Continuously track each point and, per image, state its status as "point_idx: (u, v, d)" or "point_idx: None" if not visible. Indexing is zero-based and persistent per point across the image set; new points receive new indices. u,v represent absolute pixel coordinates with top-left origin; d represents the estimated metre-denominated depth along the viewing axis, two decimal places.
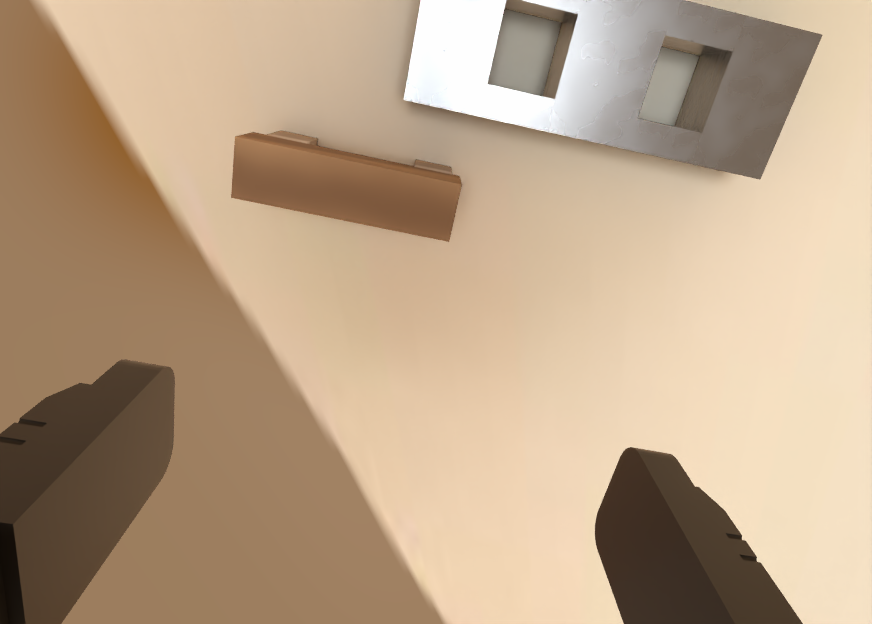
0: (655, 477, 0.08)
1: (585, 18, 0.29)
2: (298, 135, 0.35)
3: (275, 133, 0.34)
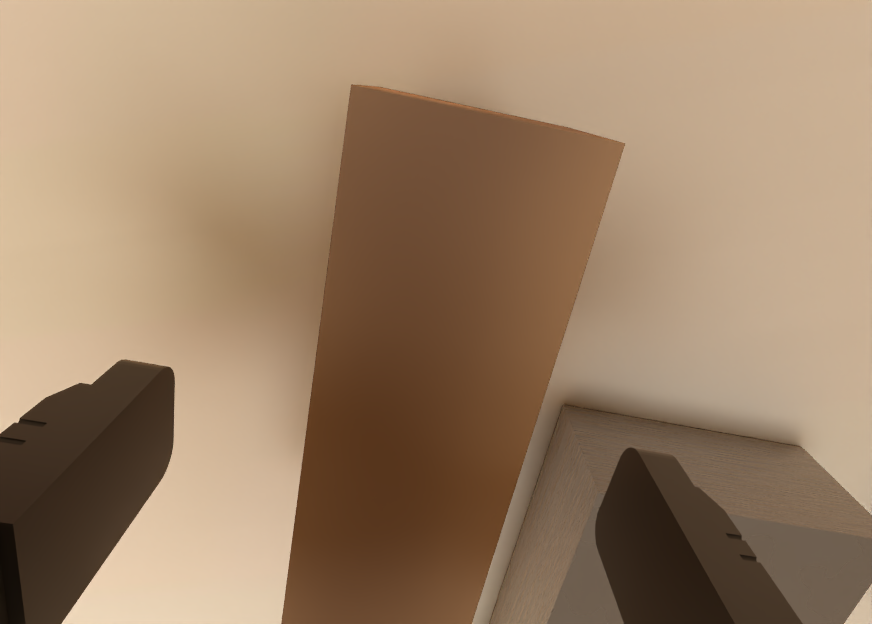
0: (655, 477, 0.08)
1: None
2: None
3: None
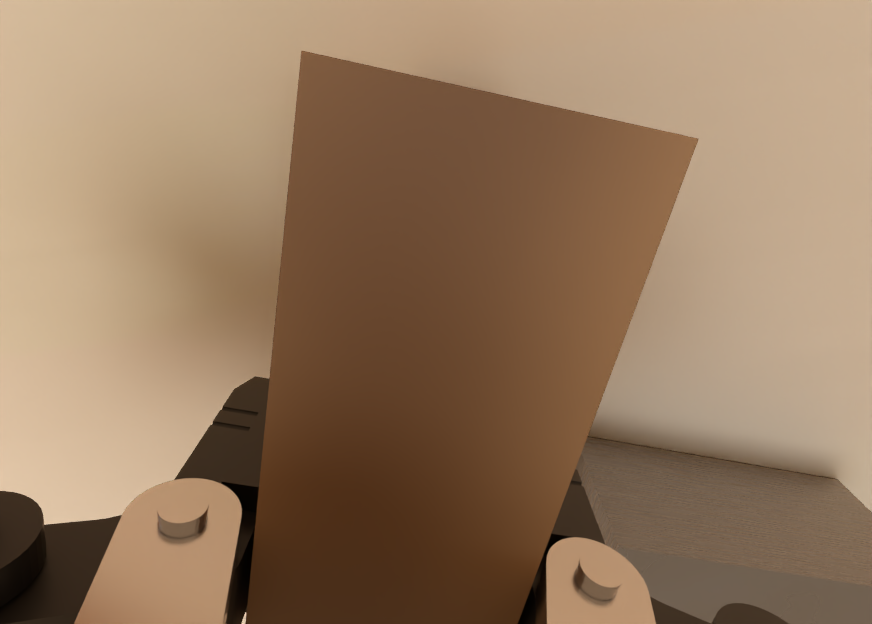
0: None
1: None
2: None
3: None
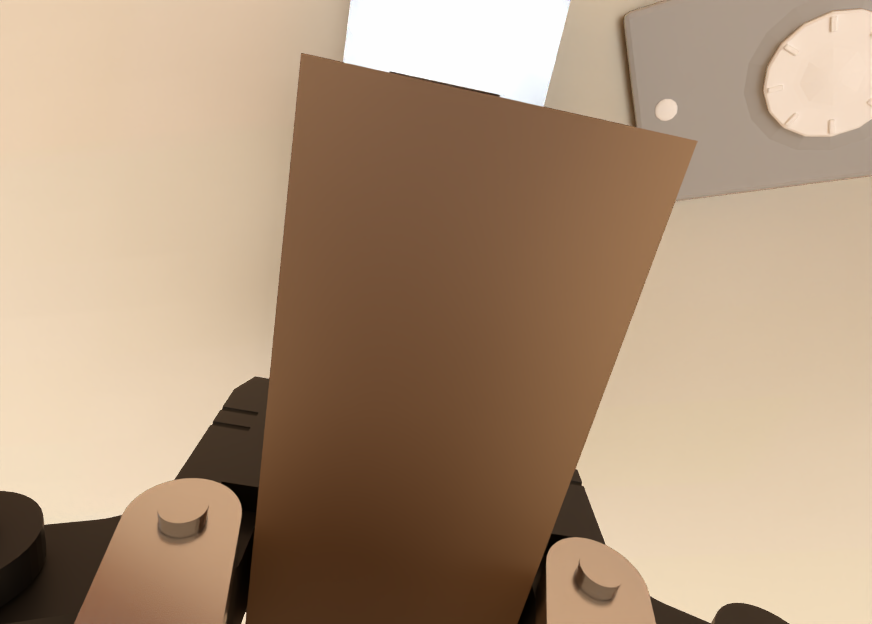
0: None
1: None
2: None
3: None
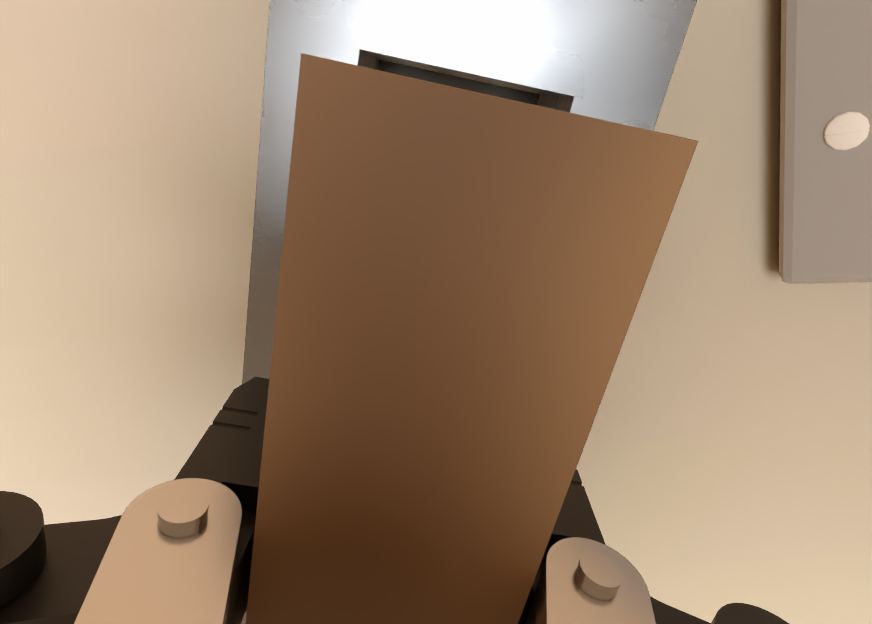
0: None
1: None
2: None
3: None
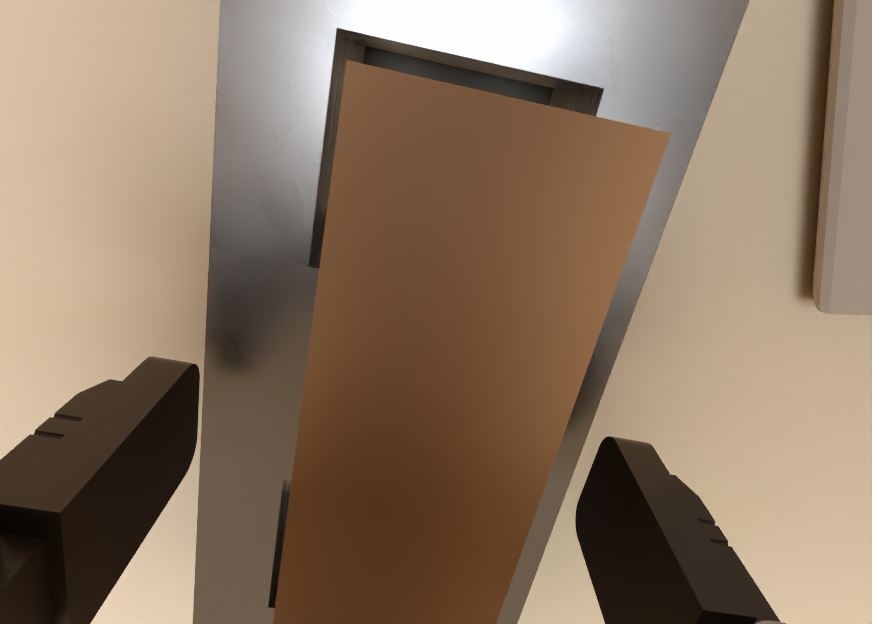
0: (631, 464, 0.09)
1: None
2: None
3: None
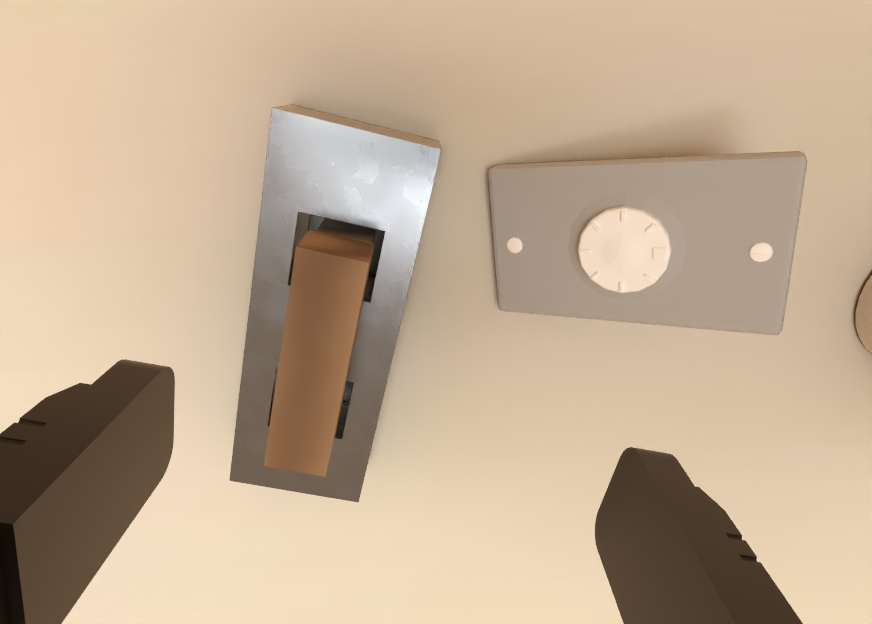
0: (655, 477, 0.08)
1: (366, 309, 0.29)
2: None
3: None
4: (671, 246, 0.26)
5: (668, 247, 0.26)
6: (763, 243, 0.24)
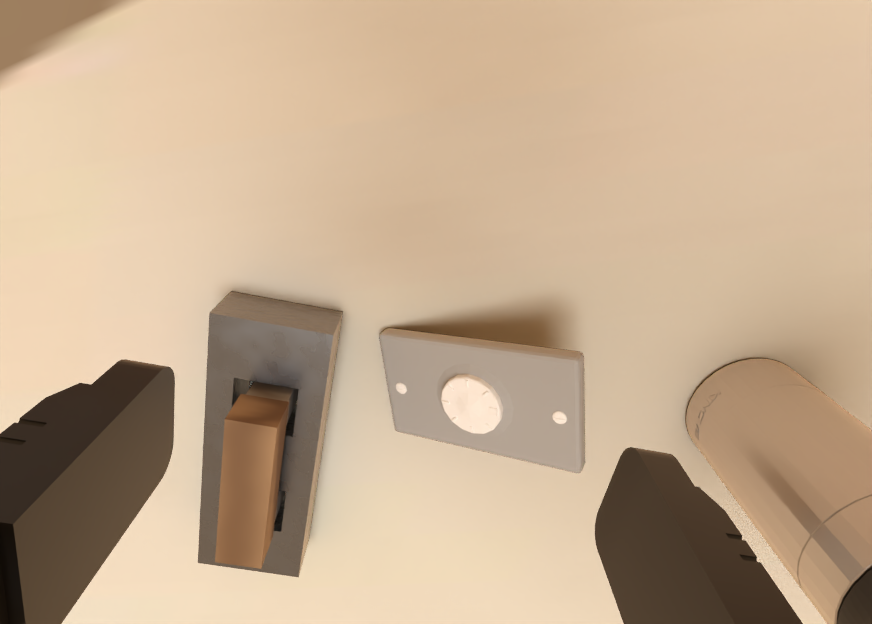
0: (655, 477, 0.08)
1: (290, 441, 0.38)
2: None
3: None
4: (502, 406, 0.35)
5: (498, 408, 0.35)
6: (559, 412, 0.34)
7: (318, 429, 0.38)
